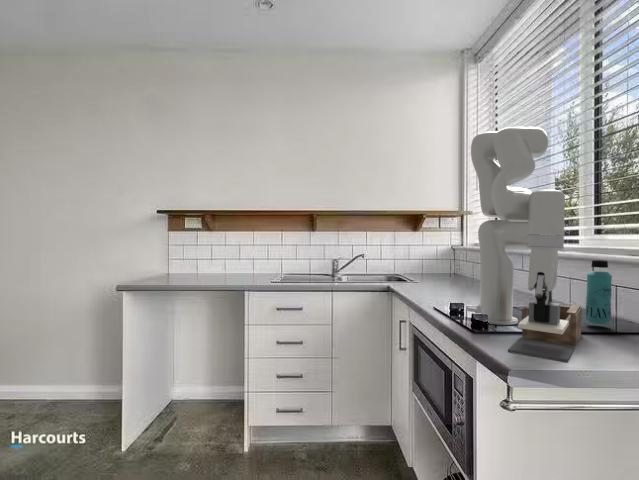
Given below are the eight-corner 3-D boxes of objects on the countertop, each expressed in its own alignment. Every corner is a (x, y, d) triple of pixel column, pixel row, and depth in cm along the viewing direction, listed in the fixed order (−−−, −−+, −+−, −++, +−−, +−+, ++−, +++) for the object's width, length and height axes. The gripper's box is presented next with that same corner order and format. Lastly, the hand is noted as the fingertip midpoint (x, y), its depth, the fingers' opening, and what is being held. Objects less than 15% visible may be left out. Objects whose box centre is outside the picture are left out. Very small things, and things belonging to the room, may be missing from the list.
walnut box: (522, 338, 109) (522, 307, 109) (532, 328, 120) (532, 300, 120) (575, 346, 102) (576, 313, 102) (580, 335, 113) (581, 305, 113)
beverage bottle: (580, 326, 125) (582, 259, 125) (590, 323, 129) (592, 259, 128) (605, 330, 120) (607, 261, 119) (614, 327, 124) (616, 260, 123)
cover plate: (517, 327, 96) (518, 304, 96) (527, 319, 106) (528, 298, 106) (562, 334, 91) (563, 309, 91) (568, 324, 101) (569, 302, 101)
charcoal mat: (507, 352, 96) (507, 349, 96) (520, 339, 108) (520, 337, 108) (567, 362, 89) (567, 359, 89) (574, 348, 100) (574, 345, 100)
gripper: (534, 241, 107) (532, 312, 108) (520, 242, 94) (518, 323, 94) (567, 242, 103) (565, 316, 103) (558, 243, 89) (556, 328, 90)
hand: (543, 319), depth 99 cm, fingers closed on cover plate, 4 cm apart
